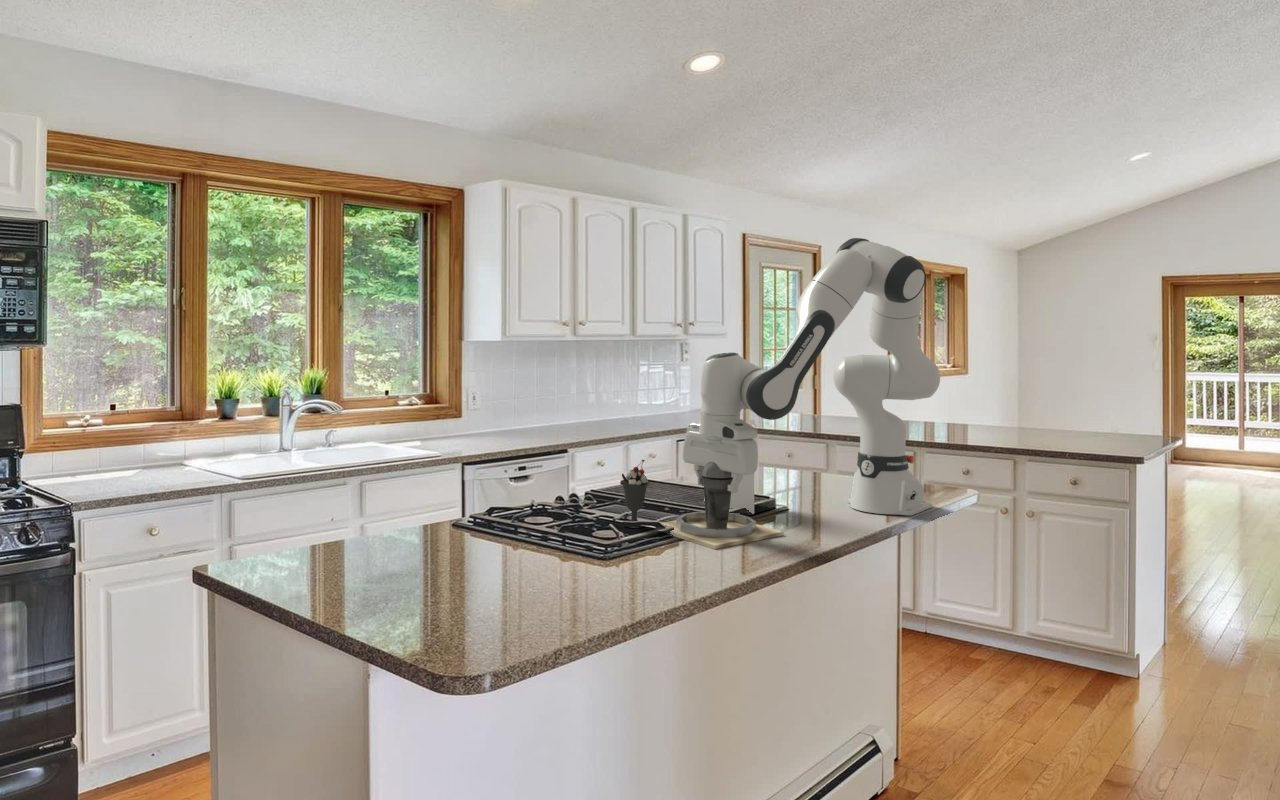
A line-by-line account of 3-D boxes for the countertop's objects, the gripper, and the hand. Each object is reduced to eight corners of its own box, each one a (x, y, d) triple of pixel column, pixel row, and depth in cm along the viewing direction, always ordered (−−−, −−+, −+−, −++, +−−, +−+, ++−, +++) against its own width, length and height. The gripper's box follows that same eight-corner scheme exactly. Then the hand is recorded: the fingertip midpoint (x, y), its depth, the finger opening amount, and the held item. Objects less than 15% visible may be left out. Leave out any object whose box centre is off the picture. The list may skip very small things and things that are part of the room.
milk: (754, 513, 210) (758, 407, 208) (706, 512, 210) (710, 406, 208) (748, 503, 222) (752, 402, 220) (704, 502, 222) (707, 401, 220)
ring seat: (716, 516, 206) (716, 505, 206) (783, 535, 190) (784, 523, 190) (649, 528, 193) (649, 516, 193) (714, 549, 177) (715, 536, 176)
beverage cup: (734, 532, 188) (737, 441, 186) (701, 531, 188) (703, 440, 186) (731, 524, 195) (734, 436, 193) (699, 523, 195) (701, 436, 193)
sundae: (653, 524, 196) (655, 459, 195) (641, 531, 190) (642, 463, 189) (627, 521, 199) (629, 456, 198) (614, 527, 193) (615, 460, 192)
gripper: (677, 422, 195) (675, 482, 196) (742, 433, 179) (740, 498, 181) (697, 420, 199) (695, 479, 200) (763, 431, 183) (760, 495, 185)
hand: (717, 488), depth 190 cm, fingers open, 8 cm apart
